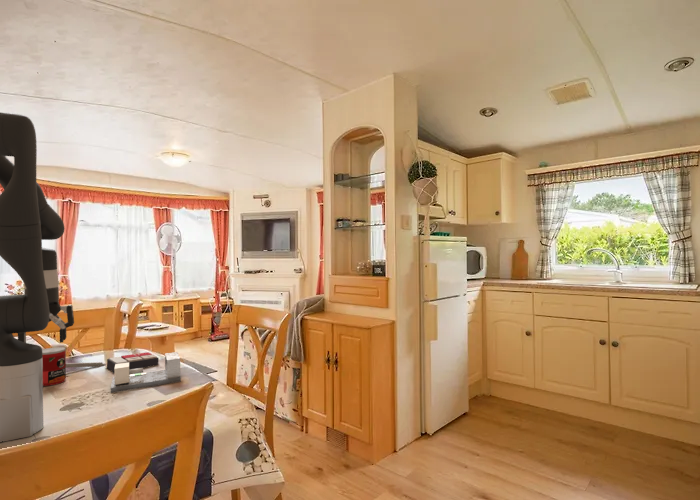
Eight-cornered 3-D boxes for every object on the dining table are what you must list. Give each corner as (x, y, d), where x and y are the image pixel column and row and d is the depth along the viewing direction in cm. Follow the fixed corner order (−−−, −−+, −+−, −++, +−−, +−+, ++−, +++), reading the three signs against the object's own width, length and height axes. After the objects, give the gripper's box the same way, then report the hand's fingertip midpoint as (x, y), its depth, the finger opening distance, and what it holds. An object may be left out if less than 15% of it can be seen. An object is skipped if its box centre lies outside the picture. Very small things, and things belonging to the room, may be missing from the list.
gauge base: (180, 381, 131) (180, 359, 131) (110, 392, 121) (110, 368, 121) (177, 372, 142) (177, 351, 142) (112, 382, 132) (112, 359, 132)
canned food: (51, 386, 128) (50, 353, 128) (31, 385, 130) (30, 352, 130) (72, 379, 136) (71, 347, 136) (52, 378, 137) (52, 346, 137)
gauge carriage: (143, 380, 127) (143, 364, 127) (114, 384, 124) (114, 368, 124) (142, 372, 136) (142, 357, 136) (115, 376, 132) (115, 361, 132)
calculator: (159, 355, 152) (115, 362, 142) (158, 367, 152) (114, 374, 141) (149, 351, 160) (106, 356, 149) (148, 361, 160) (106, 368, 149)
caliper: (40, 378, 138) (40, 360, 138) (39, 378, 139) (39, 360, 139) (106, 365, 153) (106, 349, 153) (105, 365, 154) (105, 348, 154)
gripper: (4, 289, 103) (6, 350, 103) (71, 286, 110) (72, 343, 110) (12, 286, 109) (13, 343, 110) (74, 283, 116) (75, 337, 117)
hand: (43, 343), depth 110 cm, fingers open, 8 cm apart
